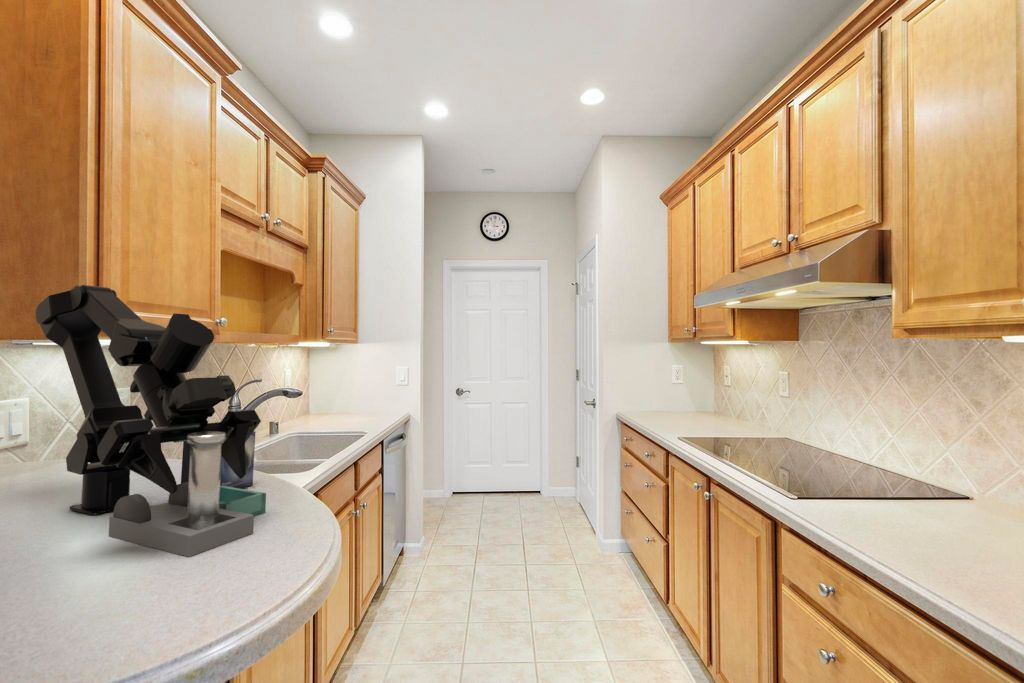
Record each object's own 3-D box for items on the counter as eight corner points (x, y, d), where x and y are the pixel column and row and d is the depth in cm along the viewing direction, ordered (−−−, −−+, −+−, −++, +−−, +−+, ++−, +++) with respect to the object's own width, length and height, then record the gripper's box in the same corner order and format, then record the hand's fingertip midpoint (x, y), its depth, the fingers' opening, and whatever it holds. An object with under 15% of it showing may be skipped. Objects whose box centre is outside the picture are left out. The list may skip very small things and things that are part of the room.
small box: (210, 501, 82) (212, 438, 82) (177, 498, 83) (180, 436, 83) (255, 485, 92) (257, 429, 92) (225, 483, 93) (227, 428, 94)
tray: (179, 515, 74) (180, 495, 74) (220, 503, 80) (221, 485, 81) (225, 525, 70) (226, 504, 71) (265, 512, 77) (266, 493, 77)
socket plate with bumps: (108, 536, 66) (110, 493, 66) (176, 516, 74) (178, 479, 74) (189, 557, 59) (191, 510, 60) (253, 533, 68) (254, 492, 68)
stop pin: (174, 542, 64) (179, 434, 64) (206, 531, 68) (210, 430, 68) (197, 548, 62) (202, 437, 63) (228, 536, 66) (233, 432, 67)
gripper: (113, 355, 60) (158, 456, 54) (255, 357, 76) (301, 435, 71) (79, 415, 63) (118, 516, 57) (222, 404, 79) (264, 482, 74)
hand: (211, 483), depth 65 cm, fingers open, 9 cm apart
